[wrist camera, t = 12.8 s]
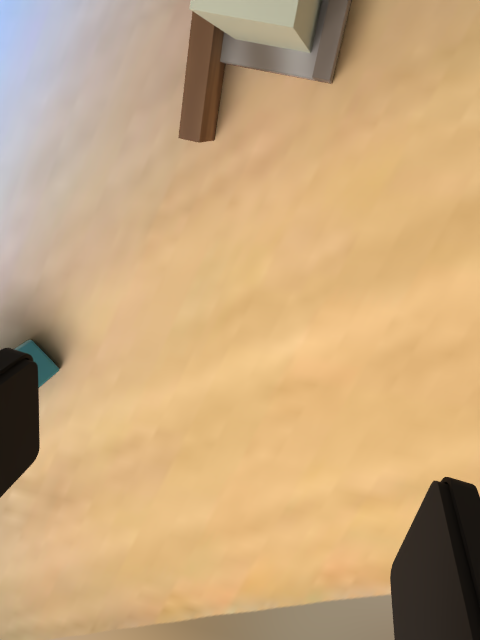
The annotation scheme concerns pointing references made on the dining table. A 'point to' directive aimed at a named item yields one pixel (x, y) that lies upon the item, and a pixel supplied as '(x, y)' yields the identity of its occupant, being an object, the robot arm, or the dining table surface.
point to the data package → (39, 361)
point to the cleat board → (251, 64)
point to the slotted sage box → (264, 20)
